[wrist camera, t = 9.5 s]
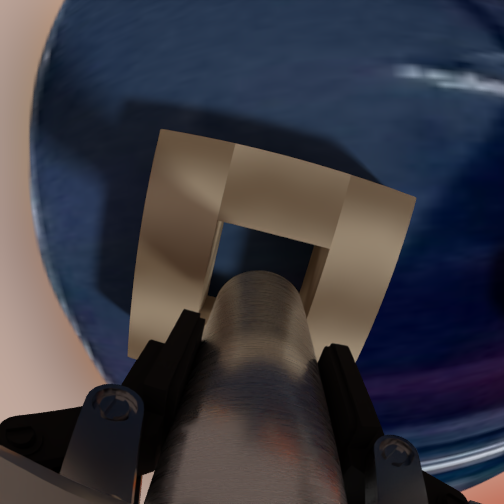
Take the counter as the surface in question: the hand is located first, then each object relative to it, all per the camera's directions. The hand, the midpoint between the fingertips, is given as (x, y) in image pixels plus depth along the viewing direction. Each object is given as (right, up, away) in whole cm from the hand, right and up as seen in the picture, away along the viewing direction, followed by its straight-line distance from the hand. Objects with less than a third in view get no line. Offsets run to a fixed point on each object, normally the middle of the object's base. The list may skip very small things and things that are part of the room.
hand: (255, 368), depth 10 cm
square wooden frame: (0, +3, +11) cm, 11 cm away
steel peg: (0, +1, +4) cm, 4 cm away
